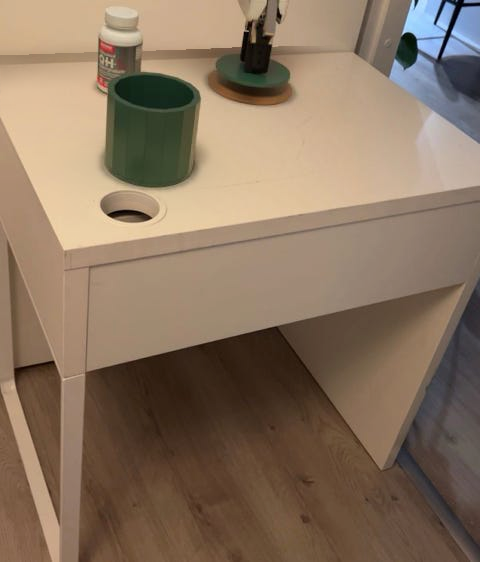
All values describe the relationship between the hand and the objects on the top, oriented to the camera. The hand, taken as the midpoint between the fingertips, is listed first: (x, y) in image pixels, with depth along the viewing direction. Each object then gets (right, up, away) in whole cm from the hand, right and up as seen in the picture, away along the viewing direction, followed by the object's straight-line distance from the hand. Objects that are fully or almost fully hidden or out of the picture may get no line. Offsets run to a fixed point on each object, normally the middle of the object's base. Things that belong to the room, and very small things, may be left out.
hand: (253, 65), depth 99 cm
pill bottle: (-17, -4, -5) cm, 19 cm away
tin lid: (0, -1, +1) cm, 1 cm away
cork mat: (0, -2, +2) cm, 3 cm away
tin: (-12, -16, -19) cm, 28 cm away
